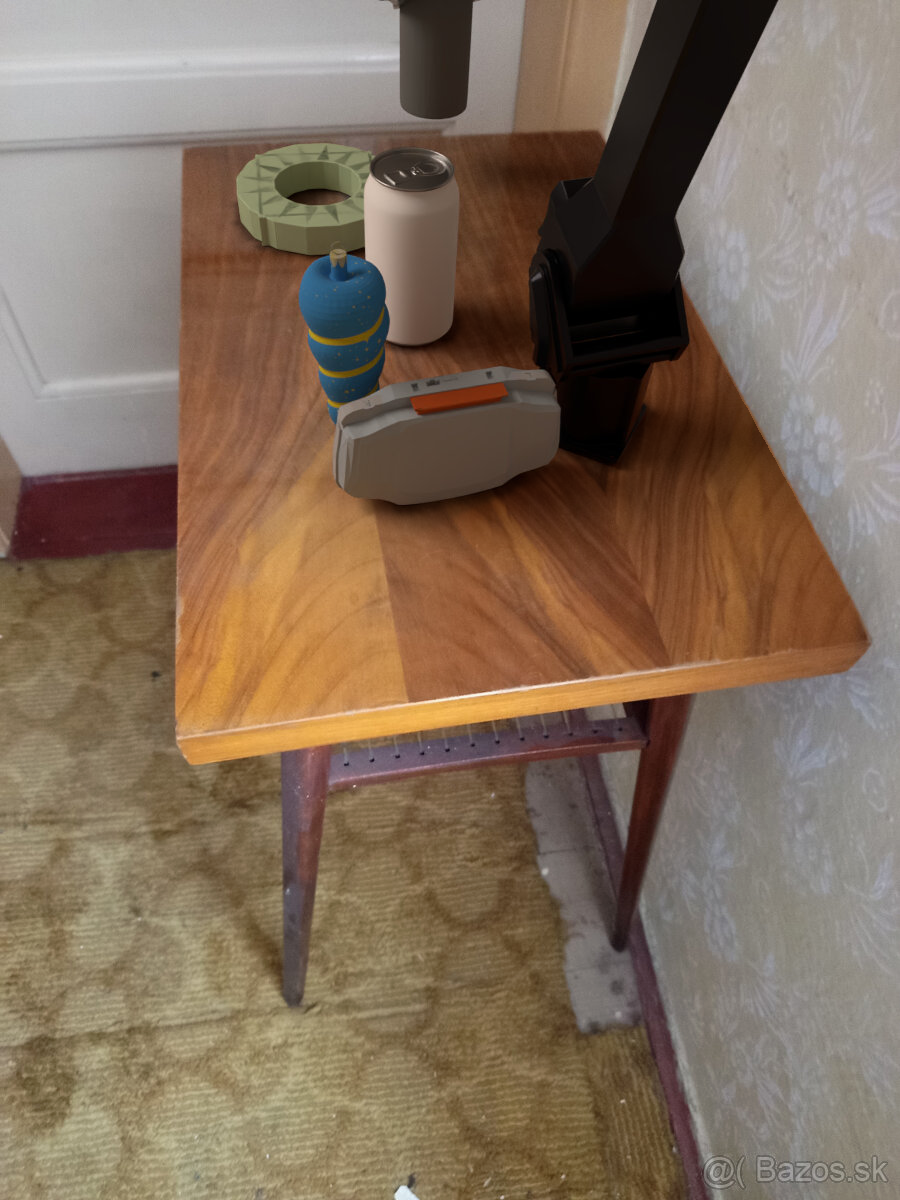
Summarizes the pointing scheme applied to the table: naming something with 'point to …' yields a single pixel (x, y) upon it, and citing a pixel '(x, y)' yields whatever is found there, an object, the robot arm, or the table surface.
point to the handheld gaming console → (446, 435)
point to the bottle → (435, 57)
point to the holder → (298, 223)
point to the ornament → (345, 325)
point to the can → (413, 240)
